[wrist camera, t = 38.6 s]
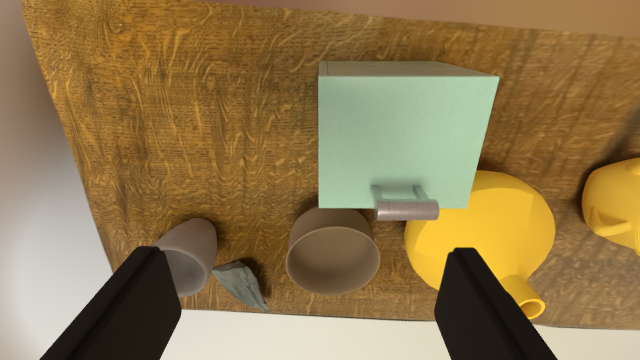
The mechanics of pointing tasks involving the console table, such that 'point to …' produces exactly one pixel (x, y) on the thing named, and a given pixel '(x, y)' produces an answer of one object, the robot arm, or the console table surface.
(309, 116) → the console table surface
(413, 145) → the lid
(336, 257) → the bowl
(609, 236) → the teapot
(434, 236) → the vase
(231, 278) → the stone
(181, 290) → the mug
